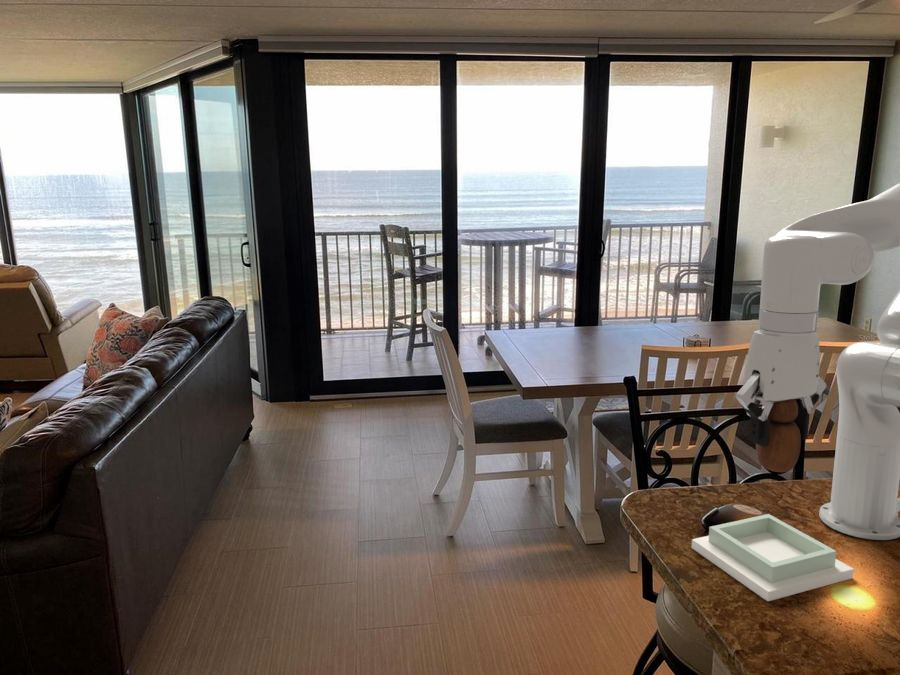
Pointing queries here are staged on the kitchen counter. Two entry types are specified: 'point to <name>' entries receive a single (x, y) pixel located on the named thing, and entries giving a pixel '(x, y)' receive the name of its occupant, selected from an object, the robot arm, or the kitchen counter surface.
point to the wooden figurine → (781, 438)
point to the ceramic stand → (771, 557)
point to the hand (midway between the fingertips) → (778, 439)
